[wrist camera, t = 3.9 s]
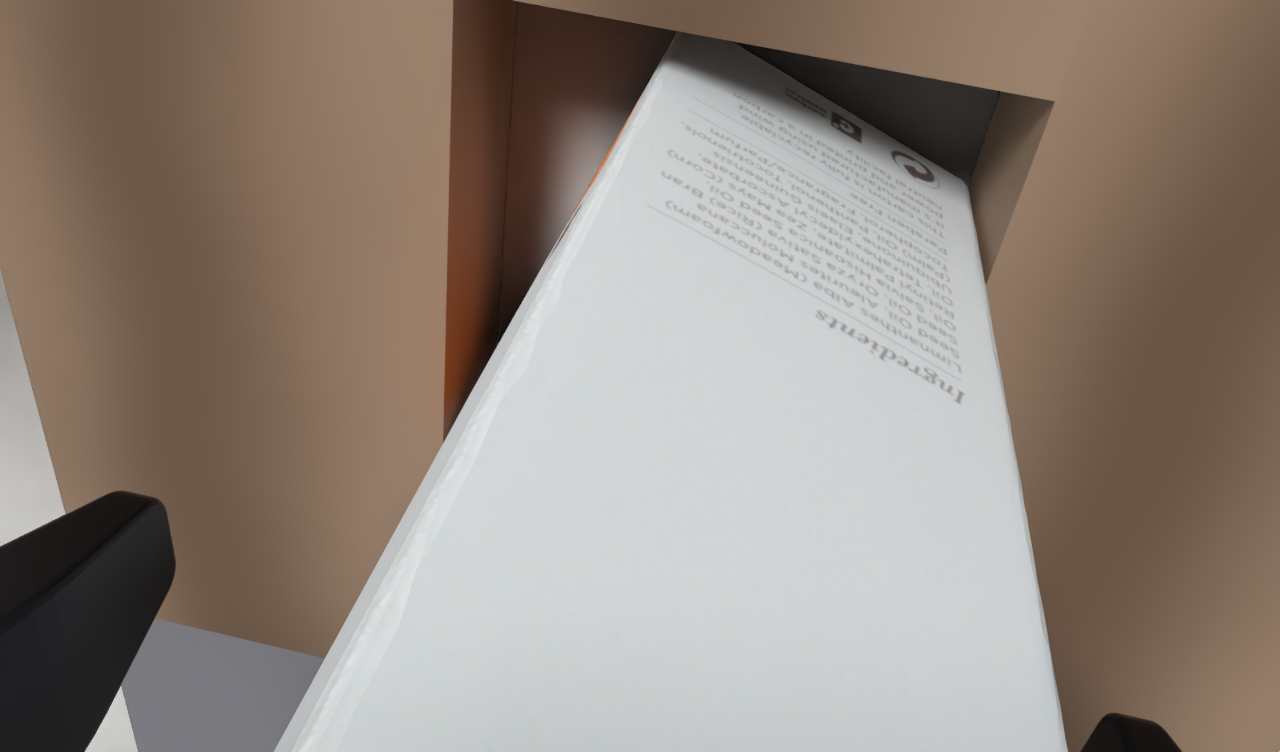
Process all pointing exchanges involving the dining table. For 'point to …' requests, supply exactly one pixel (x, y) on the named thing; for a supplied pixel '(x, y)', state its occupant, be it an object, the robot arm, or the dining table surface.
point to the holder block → (471, 276)
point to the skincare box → (720, 469)
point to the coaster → (212, 691)
